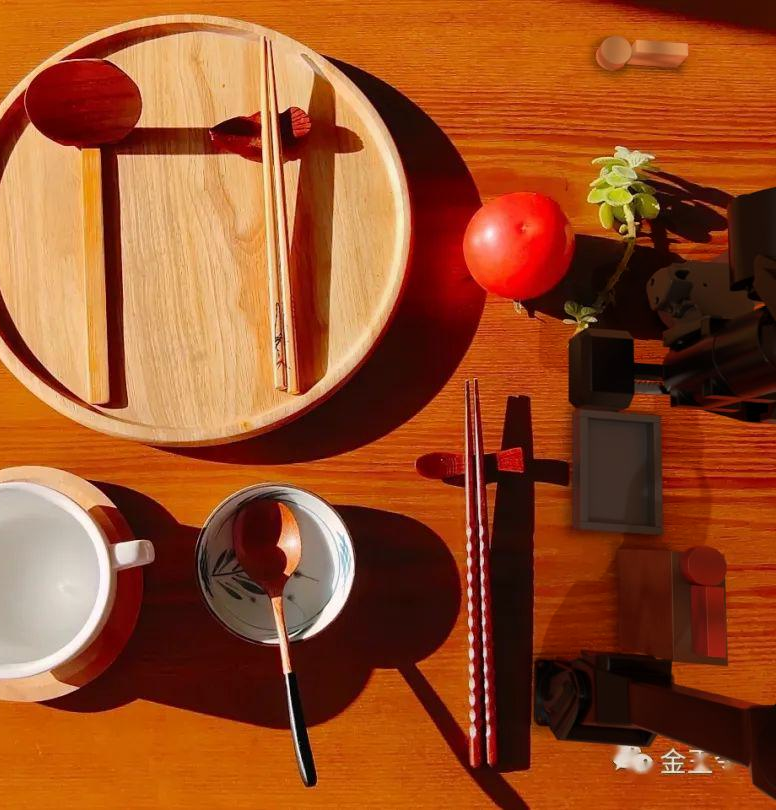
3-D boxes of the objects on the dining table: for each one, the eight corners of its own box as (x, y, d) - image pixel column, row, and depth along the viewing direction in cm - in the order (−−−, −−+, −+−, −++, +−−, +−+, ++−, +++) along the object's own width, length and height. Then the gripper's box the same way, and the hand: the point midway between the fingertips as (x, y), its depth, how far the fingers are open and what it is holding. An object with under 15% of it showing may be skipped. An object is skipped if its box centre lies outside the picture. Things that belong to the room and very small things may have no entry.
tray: (653, 535, 81) (663, 535, 79) (572, 529, 81) (580, 528, 79) (651, 418, 83) (661, 415, 81) (572, 412, 83) (580, 409, 81)
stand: (666, 650, 79) (728, 666, 69) (618, 646, 79) (673, 662, 69) (664, 552, 81) (724, 554, 71) (617, 548, 81) (671, 550, 71)
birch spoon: (676, 48, 91) (688, 35, 89) (676, 75, 91) (688, 63, 88) (595, 42, 91) (605, 29, 89) (595, 69, 91) (605, 57, 88)
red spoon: (720, 654, 70) (737, 658, 67) (680, 651, 70) (696, 655, 67) (717, 547, 71) (734, 547, 69) (678, 544, 71) (693, 544, 69)
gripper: (879, 256, 55) (737, 317, 70) (618, 236, 55) (533, 302, 70) (890, 408, 53) (741, 438, 68) (620, 387, 53) (532, 421, 68)
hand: (636, 396), depth 69 cm, fingers open, 9 cm apart
